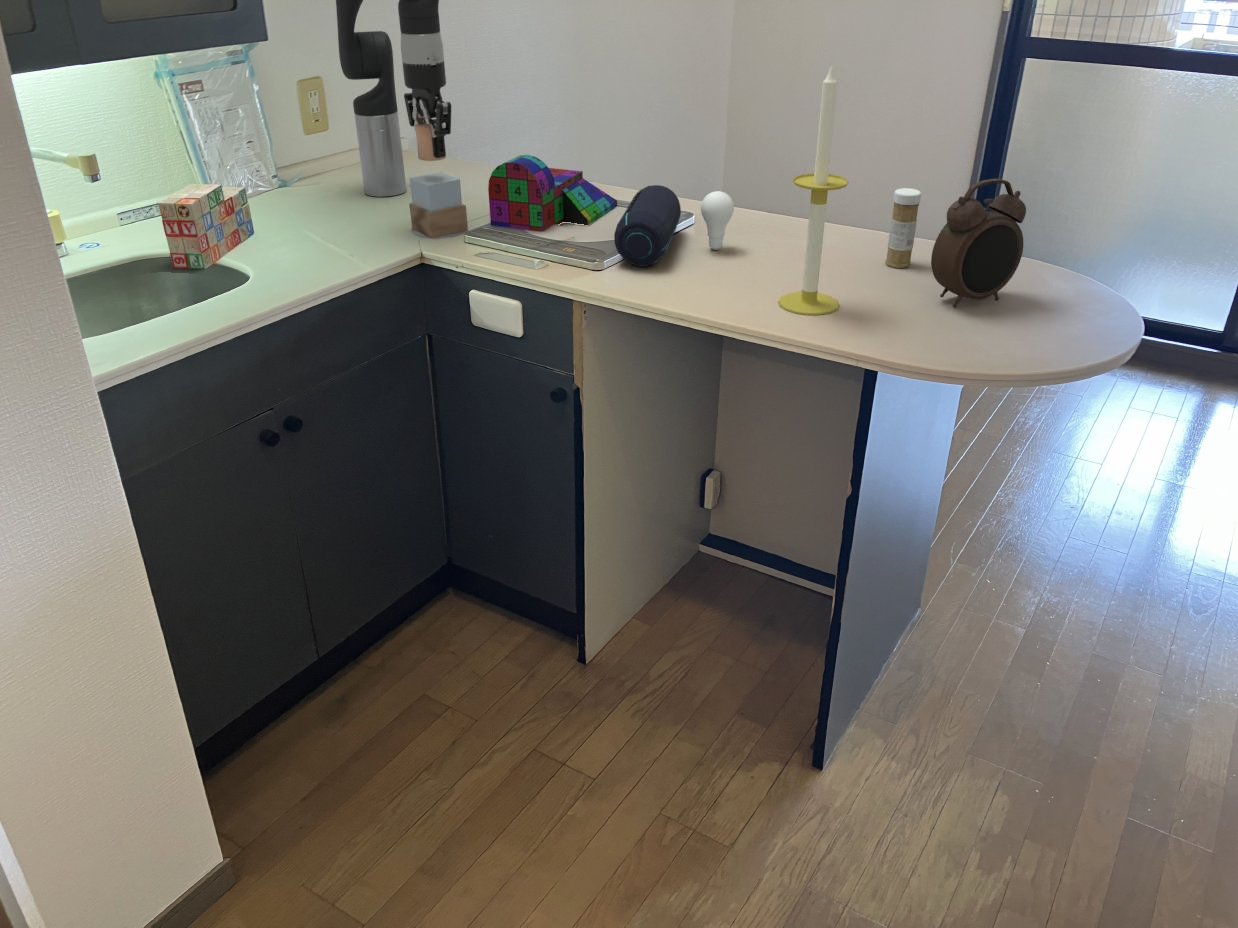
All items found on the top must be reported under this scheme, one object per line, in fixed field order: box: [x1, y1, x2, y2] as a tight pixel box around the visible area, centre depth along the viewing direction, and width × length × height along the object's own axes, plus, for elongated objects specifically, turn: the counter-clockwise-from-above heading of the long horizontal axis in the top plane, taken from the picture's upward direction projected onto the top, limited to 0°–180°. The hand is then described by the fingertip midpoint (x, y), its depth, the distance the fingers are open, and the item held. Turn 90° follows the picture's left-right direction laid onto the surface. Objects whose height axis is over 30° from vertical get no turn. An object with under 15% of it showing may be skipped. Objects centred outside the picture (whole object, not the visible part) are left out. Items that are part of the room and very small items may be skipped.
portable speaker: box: [613, 184, 682, 267], centre depth 189 cm, size 25×10×10 cm, turn 170°
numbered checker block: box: [487, 154, 618, 233], centre depth 205 cm, size 25×17×14 cm
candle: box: [777, 63, 849, 316], centre depth 157 cm, size 10×10×38 cm
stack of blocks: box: [158, 183, 255, 270], centre depth 189 cm, size 21×6×12 cm, turn 174°
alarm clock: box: [930, 178, 1027, 309], centre depth 162 cm, size 15×7×20 cm, turn 114°
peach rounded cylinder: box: [414, 121, 447, 162], centre depth 190 cm, size 5×5×6 cm
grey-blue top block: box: [409, 171, 463, 212], centre depth 195 cm, size 7×7×5 cm
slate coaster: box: [411, 228, 467, 240], centre depth 199 cm, size 11×11×1 cm
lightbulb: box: [700, 190, 735, 251], centre depth 188 cm, size 6×6×11 cm
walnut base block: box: [408, 202, 469, 240], centre depth 197 cm, size 8×8×5 cm
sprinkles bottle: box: [885, 187, 922, 269], centre depth 180 cm, size 5×5×13 cm
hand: (432, 154), depth 191 cm, fingers closed on peach rounded cylinder, 5 cm apart
